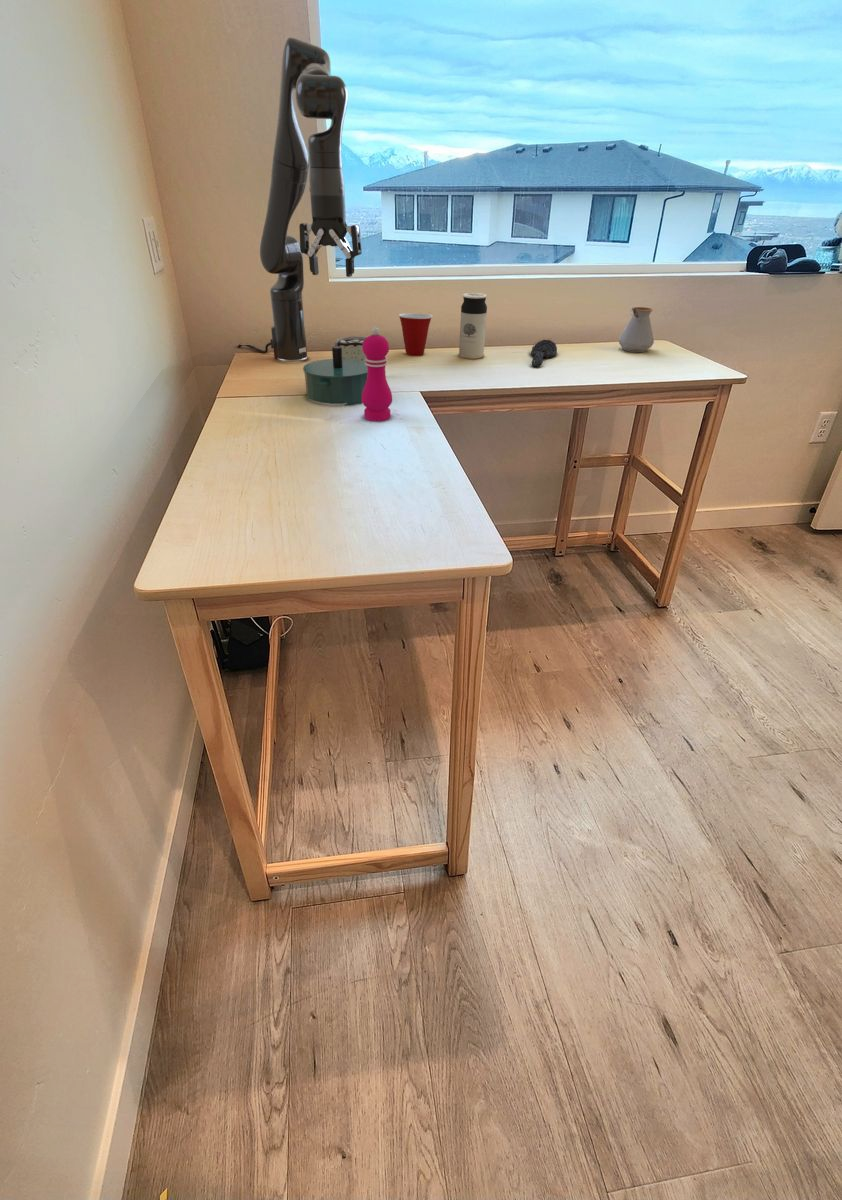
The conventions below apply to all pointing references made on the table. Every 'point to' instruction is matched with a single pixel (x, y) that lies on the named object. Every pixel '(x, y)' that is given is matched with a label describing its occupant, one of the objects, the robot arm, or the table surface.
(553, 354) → the hairbrush
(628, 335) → the coffee pot
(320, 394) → the pot
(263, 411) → the table surface
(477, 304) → the travel mug
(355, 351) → the food container
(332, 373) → the pot lid
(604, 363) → the table surface
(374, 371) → the pepper mill
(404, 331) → the plastic cup
